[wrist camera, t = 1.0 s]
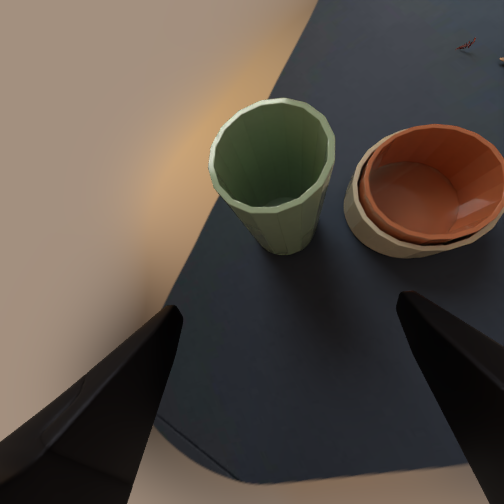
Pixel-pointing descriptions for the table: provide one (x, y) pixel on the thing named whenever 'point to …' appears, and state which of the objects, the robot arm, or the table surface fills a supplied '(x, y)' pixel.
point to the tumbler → (275, 170)
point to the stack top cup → (449, 165)
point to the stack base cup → (383, 241)
